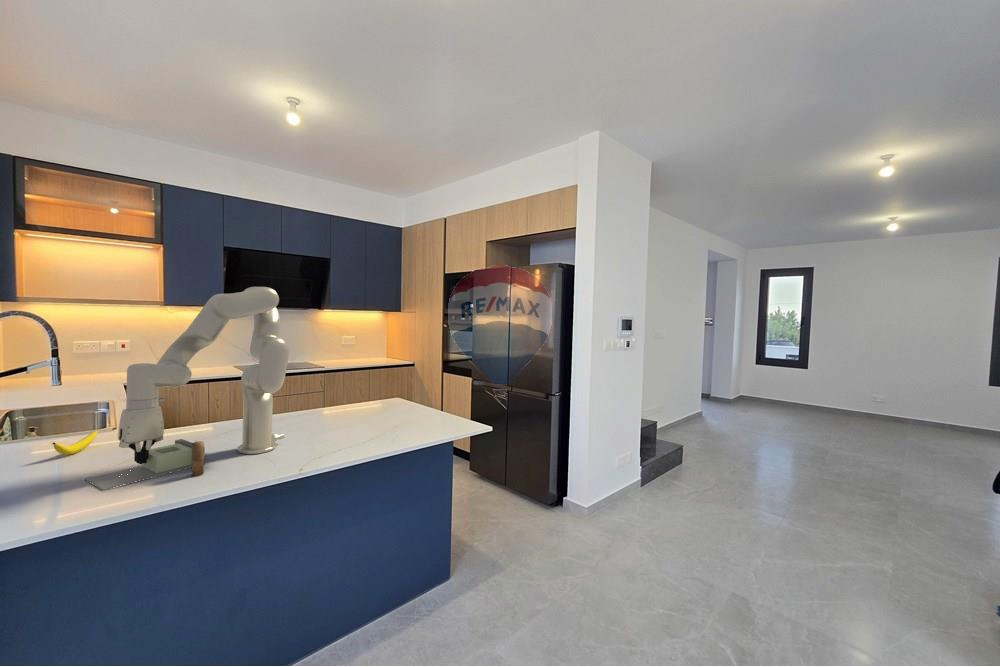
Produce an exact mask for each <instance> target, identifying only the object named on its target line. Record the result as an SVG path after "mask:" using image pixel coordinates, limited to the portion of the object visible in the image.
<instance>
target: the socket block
mask: <svg viewBox="0 0 1000 667" xmlns="http://www.w3.org/2000/svg"><path fill="white" fill-rule="evenodd" d="M191 464H192V448H190V447H187V446H185V445H182V444H179V443H177V444H175V443H174V444H168V445H163V446H159V447H154V448H151V449H150V450H149V458H148V459H147V463H143V464H141V465H142V467H144V468H147V469H149V470H151V471H153V472H155V473H160V472H164V471H168V470H172V469H176V468H180V467H184V466H188V465H191Z"/></svg>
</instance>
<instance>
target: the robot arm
mask: <svg viewBox="0 0 1000 667" xmlns="http://www.w3.org/2000/svg"><path fill="white" fill-rule="evenodd" d="M279 302H280V297H279V295H278V293H277V291H276V290H275V289H273V288H271V287H267V286H251V287H247V288H246V289H244V290H243V291H241V292H240V291H239V292H234V293H233V292H232V293H217V294H214V295H213V296H211V297H210V298H209V299H208V300H207V302H206V303H205V304H204V305H203V307H202V309H201V310H200V311H199V313H198V314H197V315H196V317H195V318H194V319H193V321H191V323H190V324H189V326H188V328H186V330H185V331H183V332H182V334H181V335H179V336H178V338H176V340H174V341H173V342H172V344H171V345H169V346H168V347H167V349H166V350H165V352H164V353H163V355H162V356H161V358H159V360H158V362H156V364H155V363H149V362H147V363H145V362H143V363H134V364H133V363H132V364H130V365H128V367H127V368H126V395H125V396H126V399H125V400H126V404H125V405H126V406H125V407H126V408H124V409H122V411H121V414H120V418H119V423H118V430H117V432H118V433H117V440H118V441H119V443H118V447H119V448H121V449H131V450H133V451H134V458H133V459H134V462H135V463H136V464H138V465H142V464H143V463H147V459H148V458H149V450H150V449H152V447H153V446H154V445H155V444H156V443H158V442H161V441H163V440H164V432H165V422H164V414H163V410H162V407H161V406H160V404H161V403H163V402H164V401H165V398H164V397H160V394H159V392H160V391H159V390H160V387H182V386H184V385H186V384H187V383H189V382H190V381H191V379H192V377H193V376H192V375H193V374H192V370H191V368H190V367H189V366H187V365H188V364H189V362H190V361H191V360H192V358H193V357H194V356H195V355H196V354H197V353H199V352H200V351H201V350H203V349H205V348H207V347H209V346H211V344H214V342H216V340H217V339H218V337H219V336H220V334H221V332H223V330H224V328H226V325H227V324H228V323H229V321H230V320H236V319H242V318H246V317H250V316H253V331H252V336H251V341H250V346H249V352H250V353H249V354H250V355H251V357H252V358H253V359H255V360H257V361H259V362H258V363H255V364H252V365H249V366H247V367H246V368H245V369H244V370H243V372H242V374H241V377H240V378H241V379H240V380H241V390H242V438H241V439H242V442H241V443H242V444H240V445H238V446H237V449H236V451H237V452H238V453H239V454H244V455H245V454H246V455H256V454H257V455H258V454H264V453H267V452H270V451H273V450H275V449H276V448H277V442H276V441H278V440H283V439H285V434H284V433H279V434H277V433H275V434H273V405H274V404H273V403H274V401H273V400H274V398H273V394H274V393H276V392H278V391H279V390H280V389H281V388H282V387H283V384H284V382H285V380H286V379H285V378H286V373H287V367H288V362H289V356H290V354H289V353H290V350H289V346H288V344H287V343H286V341H285V340H284V339H283V338H280V331H281V330H280V328H281V316H280V313H279V310H278V308H277V306H278V305H279ZM141 442H142V444H141ZM141 445H142V446H141Z"/></svg>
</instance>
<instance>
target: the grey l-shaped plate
mask: <svg viewBox="0 0 1000 667" xmlns="http://www.w3.org/2000/svg"><path fill="white" fill-rule="evenodd" d="M177 443H179V444H182V445H185V446H187V447H190V448H192V443H193V442H191V441H189V440H185V439H182V438H179V439H175V440H174V444H177ZM205 452H206V451H205V446H204V455H206V454H205ZM132 467H133V468H132ZM132 467H128V468H123V469H121V470H117V471H111V472H108V473H103V474H99V475H94V476H90V477H87V478H86V477H85V479H86V480H87V481H89V482H91V483H93V484H94V485H96V486H97V487H96V486H95V487H96V488H98V487H99V488H100V489H99V488H98V489H99V490H101V489H102V490H101V491H103V490H104V491H107V490H106V489H108V490H111V489H110V488H112V489H114V488H113V487H116V486H120V485H123V484H127V485H129V484H128V483H131V482H135V481H139V480H142V481H144V480H143V479H146V480H148V479H147V478H150V479H152V478H151V477H154V478H156V477H155V476H158V477H160V476H159V475H161V476H164V475H163V474H165V475H168V474H167V473H169V474H171V473H170V472H173V473H175V472H174V471H177V472H179V471H178V470H180V471H182V470H181V469H184V470H186V469H185V468H188V469H191V468H190V467H192V464H191V465H188V466H184V467H180V468H176V469H172V470H168V471H164V472H160V473H155V472H153V471H151V470H149V469H147V468H144V467H142V464H140V465H137V466H132ZM130 470H131V471H130ZM121 474H122V475H121ZM127 474H128V475H127ZM119 476H120V477H119ZM86 480H85V481H86ZM87 481H86V482H87ZM89 482H88V483H89ZM139 482H140V481H139ZM91 483H90V484H91ZM135 483H136V482H135ZM93 484H92V485H93ZM131 484H132V483H131ZM94 485H93V486H94ZM123 486H124V485H123ZM120 487H121V486H120ZM116 488H117V487H116Z"/></svg>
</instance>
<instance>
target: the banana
mask: <svg viewBox="0 0 1000 667" xmlns="http://www.w3.org/2000/svg"><path fill="white" fill-rule="evenodd" d="M98 432H99V430H96V431H93V432H91V433H90V434H88V435H86V436H85V437H83V438H82V439H81V440H79V441H77V442H75V443H71V444H70V445H66V446H65V445H64V444H60V443H56V442H52V443H51V444H52V445H53V448H54V450H55V451H56V452H57V453H59V454H62V455H65V456H71V455H74V454H77V453H78V452H81V451H82V450H83V451H84V449H85V448H87V447H88V446H89V445H90V444H92V443H93V441H94V440H95V438H96V436H97V434H98Z"/></svg>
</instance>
